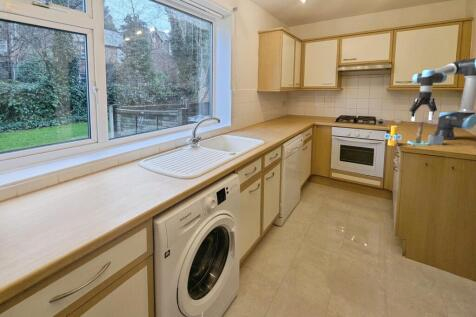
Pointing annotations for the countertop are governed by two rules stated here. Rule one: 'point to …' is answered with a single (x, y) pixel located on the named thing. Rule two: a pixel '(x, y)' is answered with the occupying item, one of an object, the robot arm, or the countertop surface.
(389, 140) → the yellow and blue toy
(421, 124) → the dowel
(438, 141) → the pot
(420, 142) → the tray
